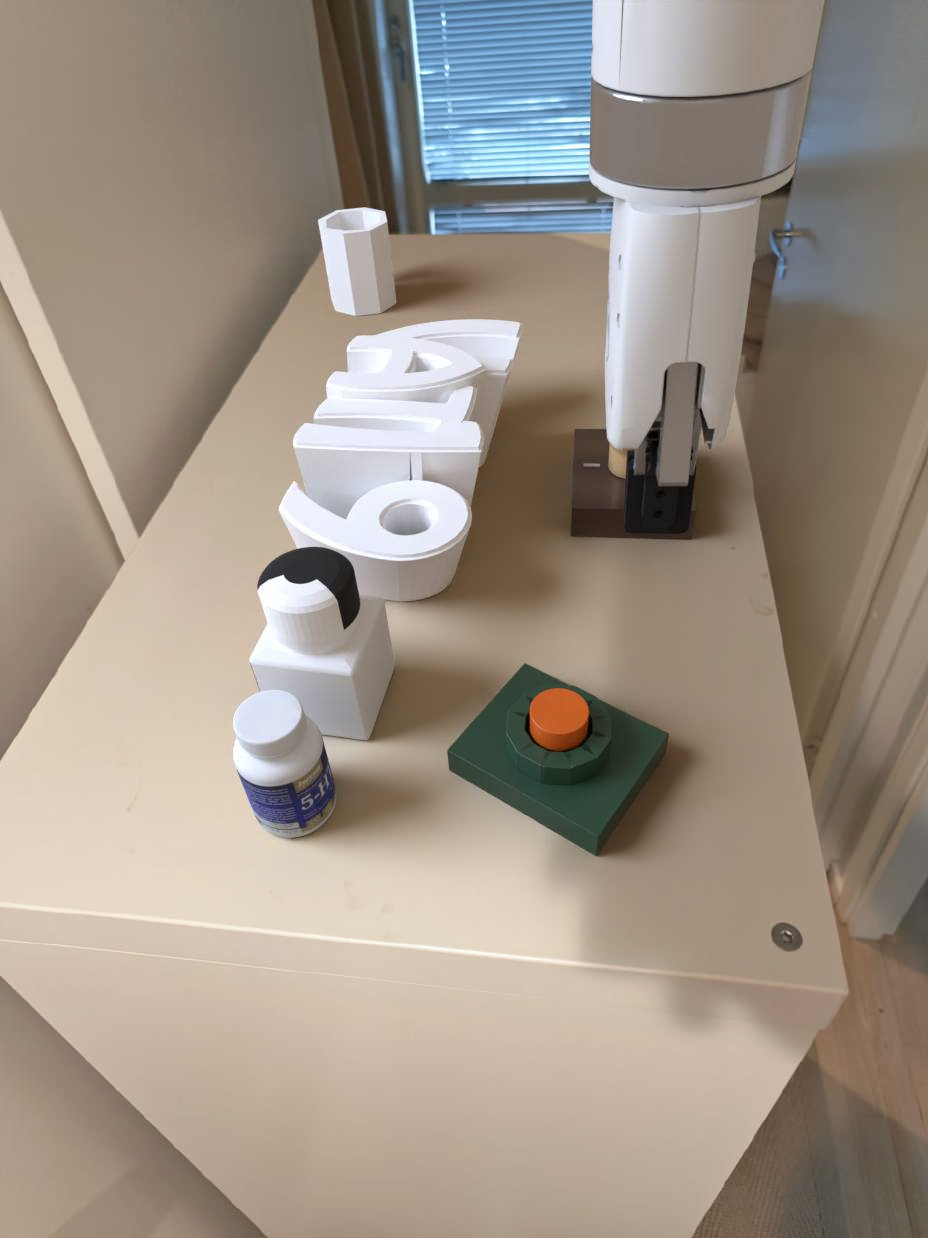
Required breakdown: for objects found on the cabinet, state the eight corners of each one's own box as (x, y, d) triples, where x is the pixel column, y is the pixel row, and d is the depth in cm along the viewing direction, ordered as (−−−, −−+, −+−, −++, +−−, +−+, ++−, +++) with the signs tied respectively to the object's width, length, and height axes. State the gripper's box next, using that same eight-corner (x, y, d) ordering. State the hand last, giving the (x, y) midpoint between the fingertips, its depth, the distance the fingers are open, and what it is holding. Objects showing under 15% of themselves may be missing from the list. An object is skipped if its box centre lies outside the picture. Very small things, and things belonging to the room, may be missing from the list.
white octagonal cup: (387, 317, 103) (377, 234, 96) (321, 314, 105) (306, 232, 98) (413, 276, 111) (405, 196, 104) (351, 273, 113) (339, 195, 106)
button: (598, 721, 53) (600, 704, 52) (568, 761, 51) (569, 743, 50) (549, 697, 55) (550, 679, 53) (518, 734, 53) (518, 716, 51)
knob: (640, 448, 75) (646, 395, 71) (663, 472, 72) (671, 418, 68) (599, 460, 74) (603, 406, 70) (622, 484, 71) (627, 430, 67)
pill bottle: (324, 845, 52) (296, 759, 46) (243, 834, 53) (205, 748, 46) (347, 773, 55) (325, 685, 49) (272, 764, 56) (240, 676, 50)
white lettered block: (387, 389, 90) (375, 293, 83) (540, 401, 87) (541, 301, 80) (257, 616, 67) (224, 509, 59) (461, 644, 63) (452, 534, 56)
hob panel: (691, 539, 70) (696, 509, 68) (570, 536, 72) (571, 506, 69) (681, 457, 79) (685, 428, 77) (573, 455, 80) (574, 426, 78)
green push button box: (665, 754, 55) (673, 715, 52) (596, 856, 50) (599, 820, 47) (524, 683, 60) (524, 644, 57) (448, 770, 55) (444, 732, 52)
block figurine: (305, 654, 63) (270, 529, 55) (396, 665, 62) (375, 538, 54) (270, 729, 58) (226, 604, 50) (369, 743, 57) (341, 616, 49)
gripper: (589, 82, 37) (582, 443, 50) (589, 208, 26) (580, 625, 39) (769, 70, 36) (714, 442, 49) (844, 196, 25) (749, 628, 38)
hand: (655, 523), depth 44 cm, fingers closed
